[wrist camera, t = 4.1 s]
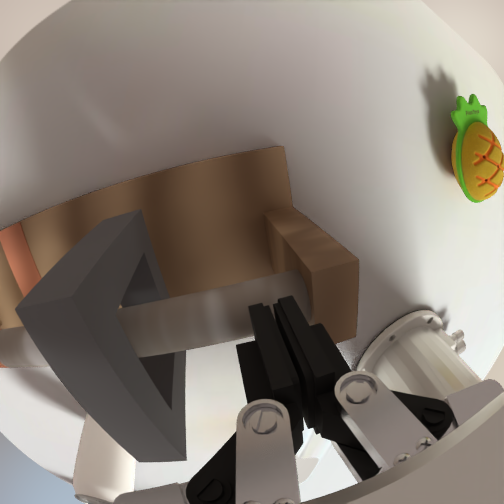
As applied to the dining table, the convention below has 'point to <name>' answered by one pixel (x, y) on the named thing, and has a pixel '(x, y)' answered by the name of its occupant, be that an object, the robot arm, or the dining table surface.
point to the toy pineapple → (475, 151)
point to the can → (101, 466)
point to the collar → (111, 338)
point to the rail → (193, 256)
